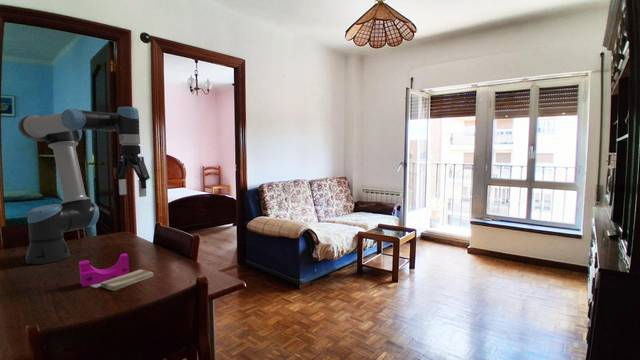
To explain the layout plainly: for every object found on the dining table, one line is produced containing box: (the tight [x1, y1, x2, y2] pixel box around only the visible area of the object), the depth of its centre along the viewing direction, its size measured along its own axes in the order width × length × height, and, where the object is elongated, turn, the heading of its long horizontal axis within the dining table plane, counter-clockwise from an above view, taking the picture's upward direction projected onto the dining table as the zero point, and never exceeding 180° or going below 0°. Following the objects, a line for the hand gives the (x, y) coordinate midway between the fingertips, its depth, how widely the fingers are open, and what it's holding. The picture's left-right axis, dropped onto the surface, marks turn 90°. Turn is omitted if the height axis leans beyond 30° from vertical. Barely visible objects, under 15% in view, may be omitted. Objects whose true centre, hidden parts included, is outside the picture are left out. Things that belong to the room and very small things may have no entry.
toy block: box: [78, 252, 130, 288], centre depth 125 cm, size 15×6×8 cm, turn 130°
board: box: [100, 269, 154, 291], centre depth 123 cm, size 8×15×2 cm, turn 152°
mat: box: [79, 281, 101, 289], centre depth 126 cm, size 10×13×1 cm
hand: (132, 195), depth 143 cm, fingers open, 13 cm apart
